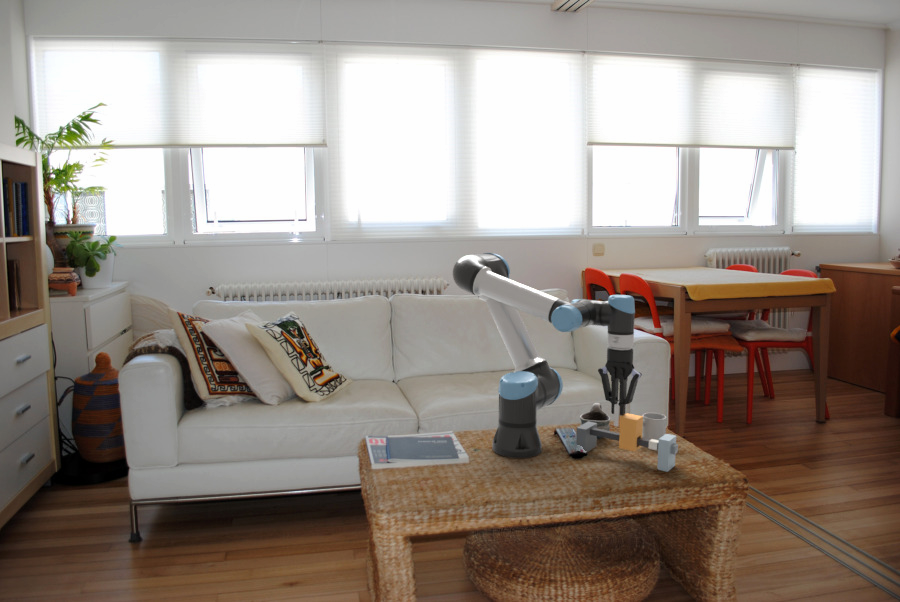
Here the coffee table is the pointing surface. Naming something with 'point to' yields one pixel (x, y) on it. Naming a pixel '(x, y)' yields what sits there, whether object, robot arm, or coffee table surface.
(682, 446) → the coffee table surface
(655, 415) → the cup
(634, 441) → the orange sliding sleeve
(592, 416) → the mug
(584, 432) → the rail rig
